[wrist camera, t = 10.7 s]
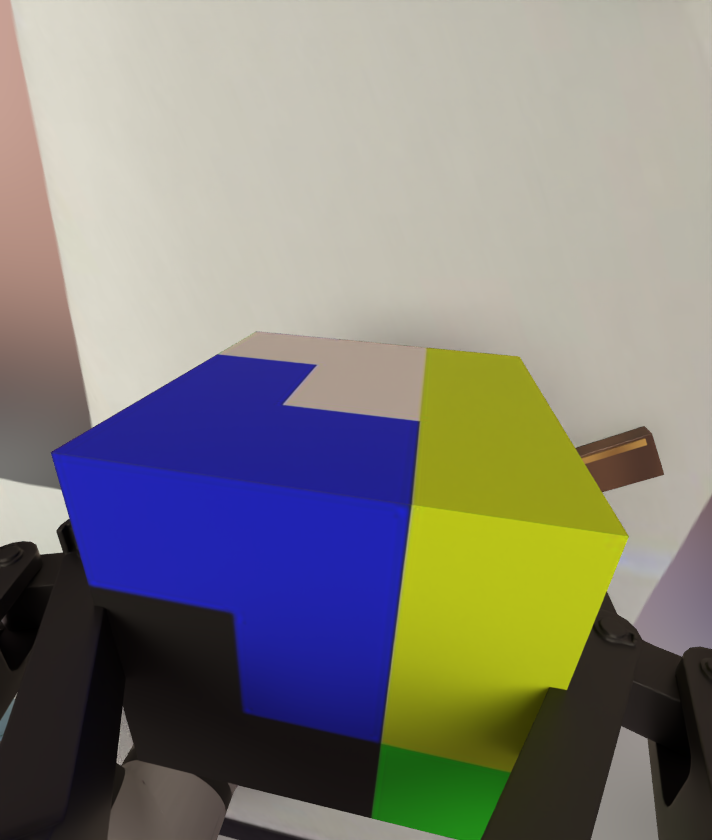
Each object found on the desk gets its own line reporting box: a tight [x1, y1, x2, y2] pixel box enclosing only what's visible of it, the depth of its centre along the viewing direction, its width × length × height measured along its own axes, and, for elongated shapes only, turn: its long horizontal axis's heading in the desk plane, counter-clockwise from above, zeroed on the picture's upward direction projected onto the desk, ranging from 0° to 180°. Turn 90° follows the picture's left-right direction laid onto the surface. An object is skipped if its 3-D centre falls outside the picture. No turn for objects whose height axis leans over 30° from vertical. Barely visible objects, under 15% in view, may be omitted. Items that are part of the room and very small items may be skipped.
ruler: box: [575, 426, 664, 492], centre depth 35 cm, size 28×4×1 cm, turn 118°
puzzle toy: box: [51, 331, 629, 840], centre depth 14 cm, size 10×10×10 cm
